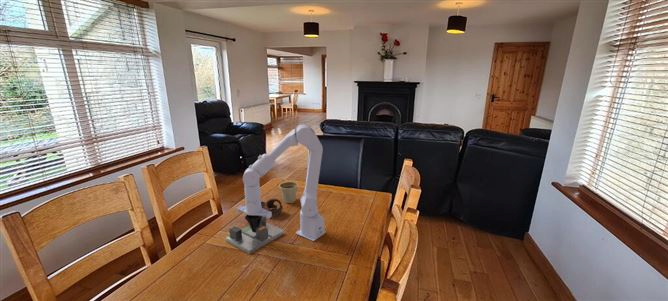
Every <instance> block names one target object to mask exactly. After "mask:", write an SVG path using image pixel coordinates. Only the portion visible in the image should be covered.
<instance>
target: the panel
mask: <svg viewBox="0 0 668 301" xmlns="http://www.w3.org/2000/svg"><path fill="white" fill-rule="evenodd" d="M266 219H267V217H262V219H261V221H260V224H259V226H264V227H265V228H267V229H268V237H267V238H266V239H264V240H262V239H260V238H258V237H256V233H254V232H252V229H251V227H250V225H248V226H245V227H244V228H242V229H241V228H240V227H237V226H235V225H234V226H233V227H230V228H229V229H228V230H229V231H228V232H229V235H228V236H226V237H225V242H227V243H229V244H230V245H233V246H234V247H236V248H238V249H240V250H241V251H243V252H245V253H247V254H249V255H251V254H252V253H254V252H255V251H257V250H259V249H261V248H263V247H264V246H265V245H267V244H269V243H270V242H272V241H274V240H276V239H277V238H279V237H282V235H284V234H285V230H284V229H282V228H280V227H278V226H275V225H273V224H270V223H268V222H267V220H266Z"/></svg>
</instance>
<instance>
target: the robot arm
mask: <svg viewBox="0 0 668 301" xmlns="http://www.w3.org/2000/svg"><path fill="white" fill-rule="evenodd" d="M299 144H300V145H302V146H303V147H305V148H306V149H307V150H308V151H309V156H308V161H307V162H308V164H307V170H306V179H305V183H304V185H305V187H304V189H303V194H302V195H301V197H300V205H301V209H300V211H299V223H300V228H299V230H297V231H296V232H295V234H296V235H298V236H301V237H303V238H305V239H308V240H309V241H312V242H315V241H316V240H317V239H319V238H321V237H322V236H323V235H325V234H326V232H327V231H325V226H326V225H325V223H326V222H325V218H324V216H322V215H321V214H320V213H319V207H318V202H317V201H318V187H319V179H320V173H321V165H322V160H323V153H324V152H323V151H324V150H323V148H324V147H323V144H322V143H321V141H320V140H319V138H318V135H317V134H316V132H315V130H314V129H313V128H312V127H311V126H310V125H308V124H307V123H300V124H298V125H297V126H296V127H295V128H293V129H292V130H290V131H289V133H287V134H286V136H284V137H283V138H282V140H280V142H279V143H278V144H277V145H276V146H274V147H273V149H271V151H270V152H269V153H263V154H259V156H258V157H257V160H256V161H255V162H254V163H252V164H250V165H249V166H248V168H246V169H245V171H244V173H243V176H242V183H243V184H244V189H243V190H244V199H245V205H239V206H237V207H236V213H244V214H246V215H245V216H244V218H245V220H246V221H247V223H248V226H250V227H251V229H252V232H254V233H256V228H257V227H259V224H260V221H261V219H262V217H266V219H268V220H269V219H271V218H270V217H272V211H271V210H269V211H267V210H265V209H263V208H262V206H261V201H262V197H261V187H260V186H261V185H260V178H262V177H264V176H265V175H266V174H267V173H268V172H269V171H270V170H271V169H272V168H273V167H275V166H276V160H277V159H278V158H279V157H280V156H281V155H282V154H284V153H285V152H286V151H287V150H288V149H289V148H290V147H298V146H299ZM270 211H271V212H270Z"/></svg>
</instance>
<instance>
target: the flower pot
mask: <svg viewBox="0 0 668 301" xmlns="http://www.w3.org/2000/svg"><path fill="white" fill-rule="evenodd" d="M298 186H299V183H298V182H295V181H285V182H282V183H280V184H279V185H278V188H279V189H280V192H281V196H282V202H283V203H284V204H293V203H295V202H296V199H297V189H298Z"/></svg>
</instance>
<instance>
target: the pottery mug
mask: <svg viewBox="0 0 668 301" xmlns="http://www.w3.org/2000/svg"><path fill="white" fill-rule="evenodd" d="M276 202H277V203H278V204H279V207H278V205H276V204H274V203H276ZM261 206H262V208H263V209H265V210H267V211H270V212H272V217H276V216H278V215H279V214H280V213H282V210H283V209H284V207H283V204H282V201H281V200H279V199H278V198H268V199H267V200H266V201H262V200H261ZM270 209H272V210H270ZM272 217H270V218H269V219H272Z"/></svg>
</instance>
